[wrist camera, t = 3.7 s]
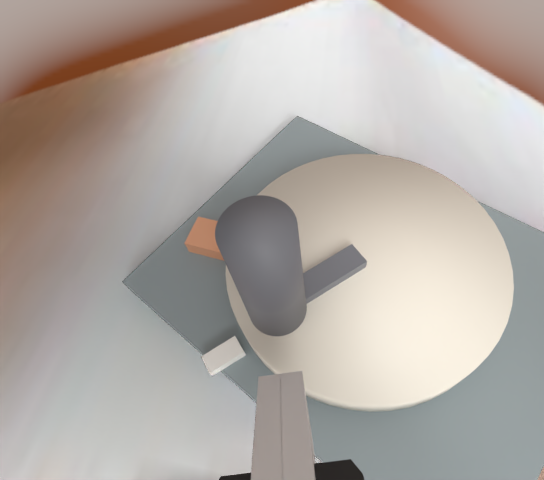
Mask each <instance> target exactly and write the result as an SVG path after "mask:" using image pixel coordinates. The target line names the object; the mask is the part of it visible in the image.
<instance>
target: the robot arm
mask: <svg viewBox="0 0 544 480" xmlns="http://www.w3.org/2000/svg"><path fill="white" fill-rule="evenodd" d="M219 480H364V477H363V473H362V472H361V471H360V470H359V468H358V467H357V466H356V465H355V464H354V462H353V461H352V460H351V459H348V460H340V461H332V462H324V463H315V455H314V447H313V439H312V433H311V426H310V420H309V413H308V406H307V400H306V393H305V387H304V380H303V374H302V371H297V372H289V373H282V374H274V375H267V376H259V377H258V390H257V403H256V417H255V430H254V443H253V456H252V470H251V473H245V474H237V475H229V476H221V477H220V479H219Z"/></svg>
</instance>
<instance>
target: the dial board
mask: <svg viewBox="0 0 544 480" xmlns="http://www.w3.org/2000/svg"><path fill="white" fill-rule="evenodd" d="M347 154H375V155H379V154H377V153H375V152H373V151H371V150H368V149H366V148H364V147H362V146H360V145H358V144H356V143H354V142H352V141H349V140H347V139H345V138H343V137H341V136H339V135H337V134H335V133H333V132H330V131H328V130H326V129H324V128H322V127H320V126H318V125H316V124H313V123H311V122H309V121H307V120H305V119H303V118H301V117H299V116H297V117H296V118H295V119H293V120H292V121H291V122H290V123H289V124H288V125H287V126H286V127H285V128H284V129H283V130H282V131H281V132H280V133H279V134H278V135H277V136H276V137H274V138H273V139H272V140H271V141H270V142H269V143H268V144H267V145H266V146H265V147H264V148H263V149H262V150H261V151H260V152H259V153H258V154H257V155H255V156H254V157H253V158H252V159H251V160H250V161H249V162H248V163H247V164H246V165H245V166H244V167H243V168H242V169H241V170H240V171H239V172H238V173H236V174H235V175H234V176H233V177H232V178H231V179H230V180H229V181H228V182H227V183H226V184H225V185H224V186H223V187H222V188H221V189H220V190H219V191H217V192H216V193H215V194H214V195H213V196H212V197H211V198H210V199H209V200H208V201H207V202H206V203H205V204H204V205H203V206H202V207H201V208H200V209H198V210H197V211H196V212H195V213H194V214H193V215H192V216H191V217H190V218H189V219H188V220H187V221H186V222H185V223H184V224H183V225H182V226H181V227H179V228H178V229H177V230H176V231H175V232H174V233H173V234H172V235H171V236H170V237H169V238H168V239H167V240H166V241H165V242H164V243H163V244H162V245H160V246H159V247H158V248H157V249H156V250H155V251H154V252H153V253H152V254H151V255H150V256H149V257H148V258H147V259H146V260H145V261H144V262H143V263H141V264H140V265H139V266H138V267H137V268H136V269H135V270H134V271H133V272H132V273H131V274H130V275H129V276H128V277H127V278H126V279H125V280H124V281H122V282H123V283H124V284H125V285H126V286H127V287H128V288H129V289H130V290H131V291H132V292H133V293H134V294H135V295H137V296H138V297H139V298H140V299H141V300H142V301H143V302H144V303H145V304H147V305H148V306H149V307H150V308H151V309H152V310H153V311H154V312H156V313H157V314H158V315H159V316H160V317H161V318H162V319H163V320H164V321H166V322H167V323H168V324H169V325H170V326H171V327H172V328H173V329H174V330H176V331H177V332H178V333H179V334H180V335H181V336H182V337H183V338H184V339H186V340H187V341H188V342H189V343H190V344H191V345H192V346H193V347H194V348H196V349H197V350H198V351H199V352H200V353H201V354H202V355H203V356H201V358H202V360H203V362H204V364H205V366H206V368H207V370H208V372H209V374H210V375H211V376H214V375H215V374H217V373H218V372H220V371H221V372H222V373H223V374H225V375H226V376H227V377H228V378H229V379H230V380H231V381H232V382H233V383H235V384H236V385H237V386H238V387H239V388H240V389H241V390H242V391H243V392H245V393H246V394H247V395H248V396H249V397H250V398H251V399H252V400H254V401H255V402H256V403H257V390H258V377H259V376H267V375H274V373H273V372H272V371H271V370H270V369H269V368H268V367H267V366H266V365H265V364H264V363H263V362H262V361H261V359H260V358H259V357H258V356H257V354H256V353H255V352H254V351H253V349H252V347H251V345H250V344H249V342H248V340H247V339H246V337H245V335H244V333H243V331H242V330H241V328H240V326H239V324H238V322H237V320H236V317H235V315H234V312H233V310H232V307H231V304H230V300H229V296H228V292H227V285H226V275H225V273H226V263H225V261H224V259H223V257H222V255H221V252H220V250H219V248H218V246H217V243H216V240H215V228H216V224H217V222H218V219H219V218H220V216H221V215H222V213H223V212H224V211H225V210H226V209H227V208H228V207H229V206H230V205H232V204H233V203H235V202H236V201H238V200H241V199H243V198H246V197H250V196H257V195H258V194H259V193H260V192H261V191H262V190H263V189H264V188H265V187H266V186H268V185H269V184H270V183H271V182H273V181H274V180H276V179H277V178H279V177H280V176H281V175H283V174H285V173H287V172H289V171H291V170H292V169H294V168H297V167H299V166H301V165H304V164H306V163H309V162H312V161H315V160H319V159H322V158H327V157H332V156H337V155H347ZM477 202H478V201H477ZM478 203H479V204H480V205H481V206H482V207H483V208H484V209H485V210H486V212H487V213H488V215H489V216H490V217H491V219H492V220H493V221H494V223H495V224H496V226H497V228H498V230H499V232H500V233H501V235H502V237H503V239H504V242H505V245H506V247H507V250H508V252H509V256H510V260H511V265H512V269H513V281H514V293H513V303H512V308H511V312H510V316H509V319H508V323H507V325H506V327H505V329H504V332H503V334H502V336H501V338H500V340H499V342H498V343H497V344H496V346H495V347H494V349H493V350H492V352H491V353H490V354H489V356H488V357H487V358H486V359H485V360H484V361H483V362H482V363H481V364H480V365H479V366H478V367H477V368H476V369H475V370H474V371H473V372H472V373H470V374H469V375H468V376H467V377H465V378H464V379H463V380H462V381H460V382H459V383H457V384H456V385H455V386H453V387H452V388H451V389H449V390H448V391H447V392H445V393H443V394H441V395H439V396H437V397H435V398H433V399H431V400H430V401H427V402H424V403H421V404H418V405H415V406H412V407H409V408H403V409H398V410H392V411H376V412H367V411H357V410H348V409H344V408H339V407H335V406H331V405H328V404H325V403H323V402H320V401H317V400H315V399H312V398H310V397H308V396H306V400H307V406H308V413H309V420H310V426H311V433H312V439H313V447H314V455H315V456H316V457H317V458H318V459H319V460H320V461H321V462H323V463H324V462H332V461H340V460H348V459H351V460H352V461H353V462H354V464H355V465H356V466H357V467H358V468H359V470H360V471H361V472H362V473H363V477H364V480H537V479H538V477H539V475H540V473H541V470H542V468H543V466H544V232H542V231H540V230H538V229H535V228H533V227H531V226H529V225H527V224H525V223H523V222H521V221H519V220H516V219H514V218H512V217H510V216H508V215H506V214H504V213H502V212H500V211H497V210H495V209H493V208H491V207H489V206H487V205H485V204H483V203H480V202H478Z"/></svg>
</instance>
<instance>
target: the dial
mask: <svg viewBox="0 0 544 480" xmlns="http://www.w3.org/2000/svg"><path fill="white" fill-rule="evenodd" d="M215 240H216V243H217V246H218V248H219V250H220V252H221V255H222V257H223V259H224V261H225V263H226V273H225V275H226V285H227V292H228V296H229V300H230V304H231V307H232V310H233V312H234V315H235V317H236V320H237V322H238V324H239V326H240V328H241V330H242V331H243V333H244V335H245V337H246V339H247V340H248V342H249V344H250V345H251V347H252V349H253V351H254V352H255V353H256V354H257V356H258V357H259V358H260V359H261V361H262V362H263V363H264V364H265V365H266V366H267V367H268V368H269V369H270V370H271V371H272V372H273V373H274V374H282V373H289V372H297V371H302V374H303V380H304V387H305V393H306V396H308V397H310V398H312V399H315V400H317V401H320V402H323V403H325V404H328V405H331V406H335V407H339V408H344V409H348V410H357V411H367V412H376V411H392V410H398V409H403V408H409V407H412V406H415V405H418V404H421V403H424V402H427V401H430V400H431V399H433V398H435V397H437V396H439V395H441V394H443V393H445V392H447V391H448V390H449V389H451V388H452V387H453V386H455V385H456V384H457V383H459V382H460V381H462V380H463V379H464V378H465V377H467V376H468V375H469V374H470V373H472V372H473V371H474V370H475V369H476V368H477V367H478V366H479V365H480V364H481V363H482V362H483V361H484V360H485V359H486V358H487V357H488V356H489V354H490V353H491V352H492V350H493V349H494V347H495V346H496V344H497V343H498V342H499V340H500V338H501V336H502V334H503V332H504V329H505V327H506V325H507V323H508V319H509V316H510V312H511V308H512V303H513V293H514V281H513V269H512V265H511V260H510V256H509V252H508V250H507V247H506V245H505V242H504V239H503V237H502V235H501V233H500V232H499V230H498V228H497V226H496V224H495V223H494V221H493V220H492V219H491V217H490V216H489V215H488V213H487V212H486V210H485V209H484V208H483V207H482V206H481V205H480V204H479V203H478V202H477V201H476V200H475V199H474V198H473V197H472V196H471V195H470V194H469V193H468V192H466V191H465V190H464V189H463V188H462V187H460V186H459V185H458V184H456V183H455V182H453V181H452V180H450V179H449V178H447V177H445V176H444V175H442V174H440V173H438V172H436V171H434V170H432V169H430V168H427V167H425V166H422V165H420V164H417V163H414V162H411V161H408V160H404V159H401V158H396V157H390V156H385V155H375V154H347V155H337V156H332V157H327V158H322V159H319V160H315V161H312V162H309V163H306V164H304V165H301V166H299V167H297V168H294V169H292V170H291V171H289V172H287V173H285V174H283V175H281V176H280V177H279V178H277V179H276V180H274V181H273V182H271V183H270V184H269V185H268V186H266V187H265V188H264V189H263V190H262V191H261V192H260V193H259V194H258V195H257V196H250V197H246V198H243V199H241V200H238V201H236V202H235V203H233V204H232V205H230V206H229V207H228V208H227V209H226V210H225V211H224V212H223V213H222V215H221V216H220V218H219V219H218V222H217V224H216V228H215Z"/></svg>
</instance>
